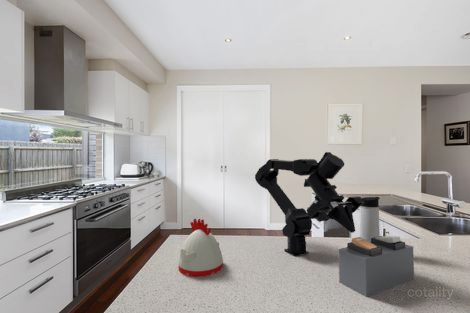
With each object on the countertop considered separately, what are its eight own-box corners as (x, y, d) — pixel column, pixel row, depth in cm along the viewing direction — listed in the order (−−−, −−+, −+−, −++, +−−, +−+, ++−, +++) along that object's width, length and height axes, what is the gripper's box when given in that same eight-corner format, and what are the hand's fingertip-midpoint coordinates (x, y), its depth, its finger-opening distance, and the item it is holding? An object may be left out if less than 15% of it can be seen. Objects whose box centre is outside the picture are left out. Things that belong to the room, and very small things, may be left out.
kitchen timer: (200, 255, 87) (200, 213, 88) (231, 264, 79) (231, 217, 80) (169, 269, 76) (169, 220, 76) (201, 281, 68) (201, 227, 68)
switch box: (339, 282, 67) (338, 243, 67) (385, 268, 75) (384, 234, 76) (366, 296, 60) (365, 253, 60) (414, 279, 68) (413, 241, 69)
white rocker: (376, 242, 71) (375, 237, 72) (383, 240, 73) (382, 236, 73) (393, 242, 67) (392, 238, 67) (400, 241, 68) (399, 236, 69)
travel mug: (383, 255, 85) (382, 198, 86) (363, 254, 87) (362, 197, 87) (377, 249, 91) (376, 195, 92) (358, 248, 93) (357, 195, 93)
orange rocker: (351, 242, 67) (352, 238, 67) (359, 240, 69) (360, 236, 68) (368, 253, 63) (369, 248, 63) (376, 251, 64) (377, 246, 64)
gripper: (330, 201, 88) (358, 241, 78) (288, 206, 80) (313, 251, 69) (348, 181, 81) (382, 221, 71) (304, 183, 73) (335, 230, 63)
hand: (353, 231), depth 69 cm, fingers closed
